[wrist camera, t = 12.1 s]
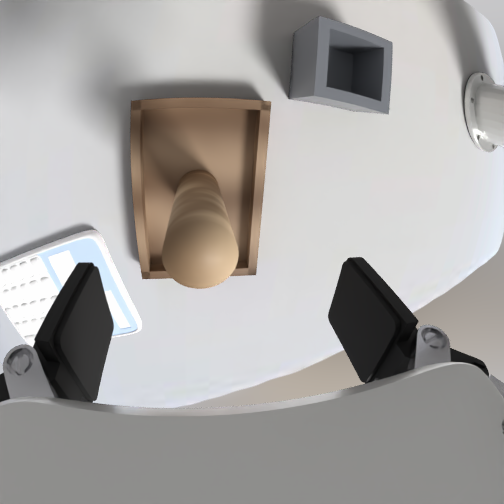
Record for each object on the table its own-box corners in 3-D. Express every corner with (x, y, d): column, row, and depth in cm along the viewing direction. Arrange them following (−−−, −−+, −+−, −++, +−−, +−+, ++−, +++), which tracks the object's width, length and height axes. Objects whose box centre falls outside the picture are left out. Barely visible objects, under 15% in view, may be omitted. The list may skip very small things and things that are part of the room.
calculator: (-13, 266, 21) (-20, 274, 20) (100, 223, 23) (94, 231, 22) (34, 342, 28) (30, 351, 27) (146, 323, 30) (144, 334, 28)
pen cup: (358, 50, 19) (392, 42, 14) (353, 111, 22) (388, 114, 18) (293, 33, 18) (319, 15, 13) (288, 99, 21) (313, 95, 16)
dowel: (219, 169, 22) (240, 219, 12) (218, 209, 24) (236, 287, 14) (177, 170, 22) (158, 221, 11) (177, 209, 23) (165, 289, 13)
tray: (136, 102, 19) (131, 100, 17) (265, 102, 21) (271, 101, 19) (145, 268, 26) (142, 279, 24) (251, 264, 28) (255, 274, 27)
